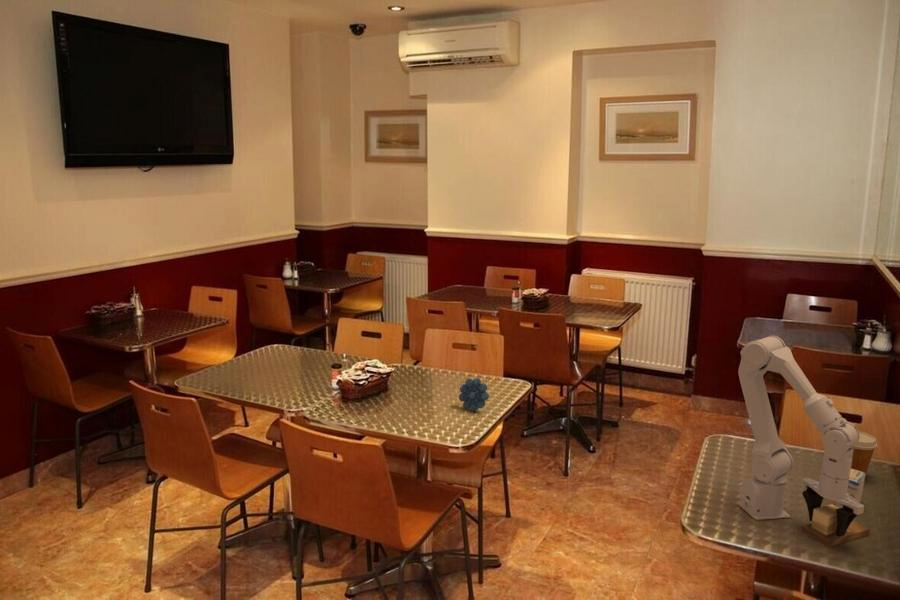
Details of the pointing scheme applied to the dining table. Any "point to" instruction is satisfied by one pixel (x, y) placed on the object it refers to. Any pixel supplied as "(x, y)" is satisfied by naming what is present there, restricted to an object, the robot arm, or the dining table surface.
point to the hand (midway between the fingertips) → (826, 527)
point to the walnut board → (852, 533)
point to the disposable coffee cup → (863, 452)
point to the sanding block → (825, 520)
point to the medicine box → (855, 485)
